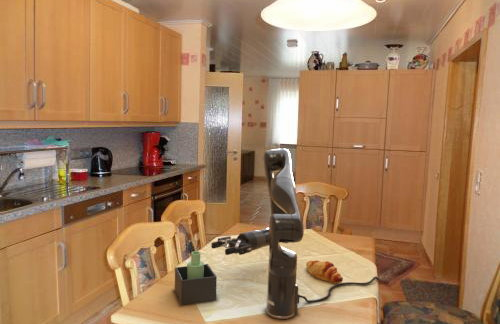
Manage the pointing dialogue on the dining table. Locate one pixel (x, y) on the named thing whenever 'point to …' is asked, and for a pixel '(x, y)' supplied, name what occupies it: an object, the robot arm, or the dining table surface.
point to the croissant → (324, 271)
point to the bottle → (195, 266)
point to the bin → (195, 286)
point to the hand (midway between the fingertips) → (218, 248)
